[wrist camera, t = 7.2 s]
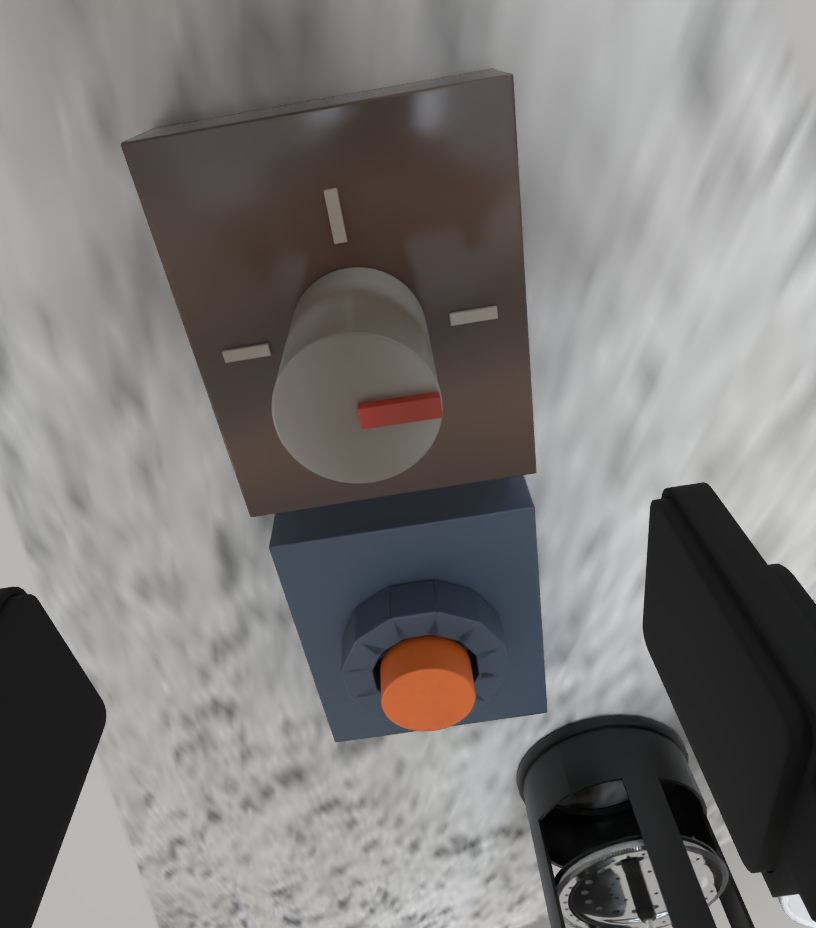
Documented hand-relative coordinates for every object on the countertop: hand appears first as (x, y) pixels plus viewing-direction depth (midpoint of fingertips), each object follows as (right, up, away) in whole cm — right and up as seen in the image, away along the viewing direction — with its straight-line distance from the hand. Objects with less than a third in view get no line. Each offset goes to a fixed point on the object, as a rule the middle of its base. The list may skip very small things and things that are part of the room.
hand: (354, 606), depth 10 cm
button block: (+1, -4, +20) cm, 20 cm away
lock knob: (-1, +6, +10) cm, 11 cm away
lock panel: (-1, +8, +12) cm, 14 cm away
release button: (+2, -6, +17) cm, 18 cm away
